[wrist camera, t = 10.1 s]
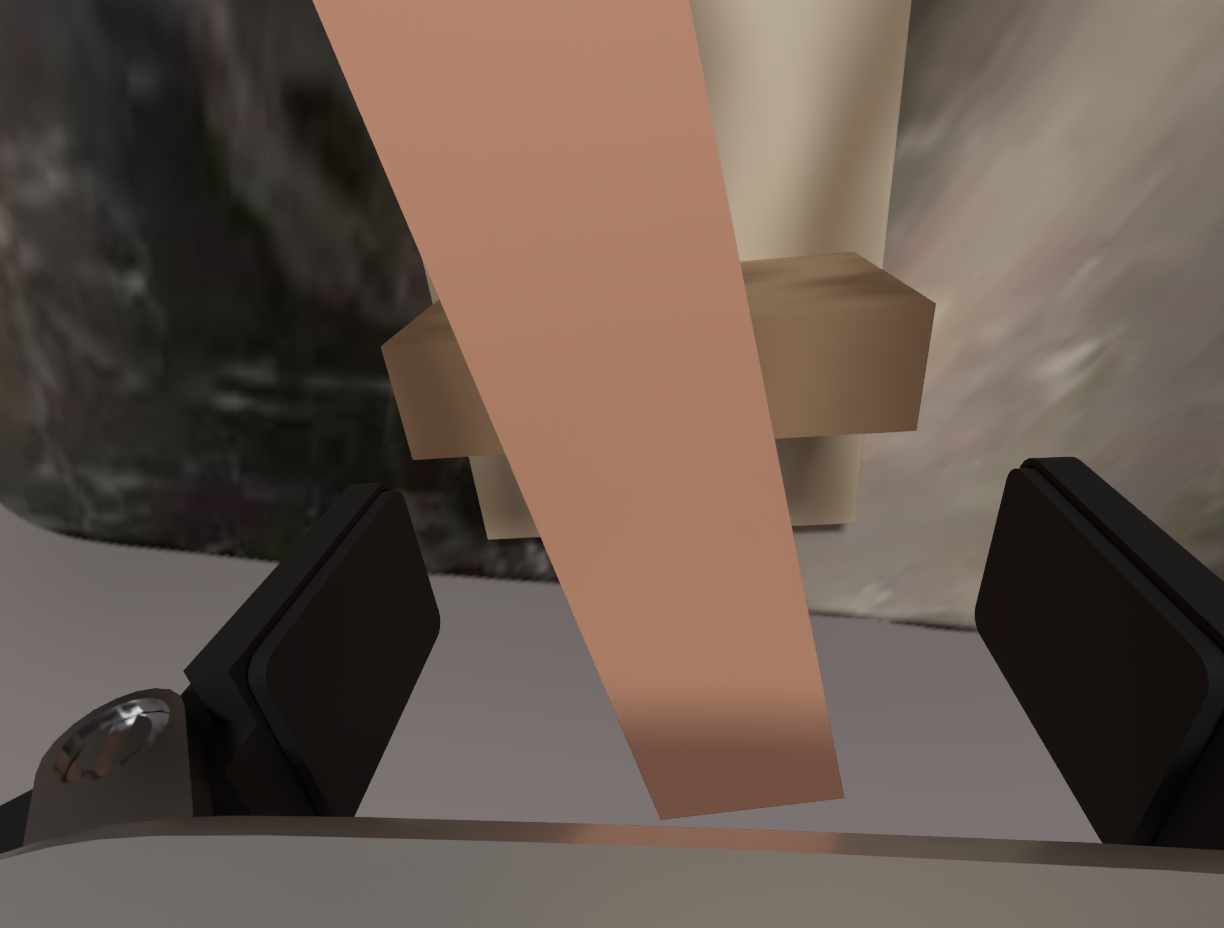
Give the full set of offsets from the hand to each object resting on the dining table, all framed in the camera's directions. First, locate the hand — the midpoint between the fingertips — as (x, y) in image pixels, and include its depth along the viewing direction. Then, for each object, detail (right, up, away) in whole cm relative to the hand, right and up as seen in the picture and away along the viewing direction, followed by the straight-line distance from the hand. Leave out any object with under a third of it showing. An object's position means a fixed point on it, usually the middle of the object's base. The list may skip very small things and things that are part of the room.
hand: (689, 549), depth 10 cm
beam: (0, +3, +6) cm, 7 cm away
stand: (0, +7, +14) cm, 16 cm away
